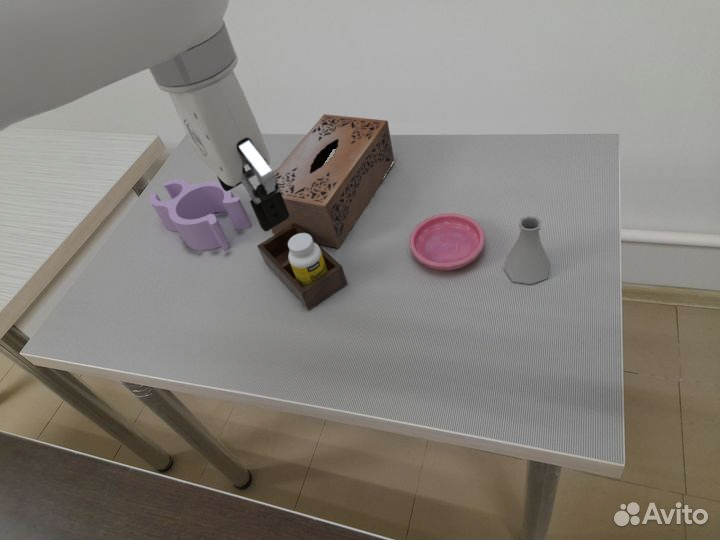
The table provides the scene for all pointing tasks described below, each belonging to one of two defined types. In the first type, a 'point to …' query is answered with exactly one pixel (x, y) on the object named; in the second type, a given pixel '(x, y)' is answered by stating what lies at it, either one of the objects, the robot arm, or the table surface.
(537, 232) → the flask
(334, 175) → the tissue box cover
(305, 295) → the holder
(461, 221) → the saucer
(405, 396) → the table surface
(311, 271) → the supplement bottle
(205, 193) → the clip
